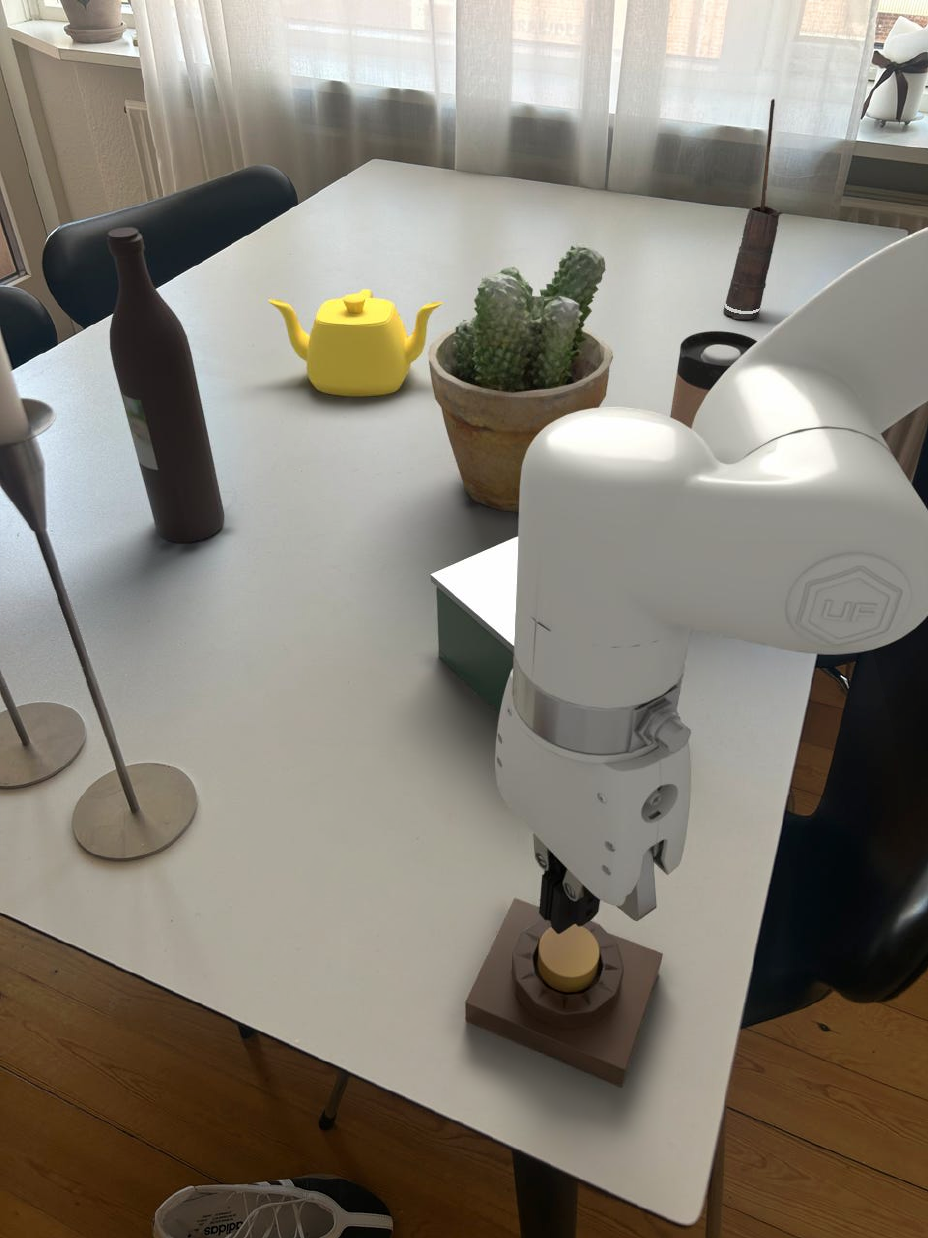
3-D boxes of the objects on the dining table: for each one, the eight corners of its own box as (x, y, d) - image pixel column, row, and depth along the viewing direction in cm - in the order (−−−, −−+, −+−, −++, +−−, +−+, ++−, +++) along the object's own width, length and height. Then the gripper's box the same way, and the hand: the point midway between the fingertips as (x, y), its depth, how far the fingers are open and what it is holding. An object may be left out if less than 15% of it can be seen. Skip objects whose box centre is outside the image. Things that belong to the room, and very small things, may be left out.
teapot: (449, 349, 133) (447, 270, 127) (440, 401, 122) (437, 318, 115) (292, 346, 135) (282, 268, 128) (267, 397, 123) (255, 315, 116)
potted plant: (538, 553, 97) (550, 311, 81) (396, 494, 105) (381, 265, 89) (629, 475, 108) (655, 248, 92) (494, 427, 116) (496, 213, 100)
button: (605, 951, 59) (607, 935, 58) (586, 1002, 56) (588, 987, 55) (549, 930, 60) (551, 914, 59) (528, 979, 58) (529, 963, 56)
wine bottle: (175, 503, 104) (105, 216, 85) (236, 510, 103) (180, 221, 84) (144, 540, 99) (63, 243, 80) (208, 548, 98) (142, 248, 78)
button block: (659, 972, 62) (666, 937, 59) (622, 1088, 56) (628, 1055, 54) (513, 916, 65) (515, 881, 62) (465, 1021, 59) (464, 987, 57)
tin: (438, 656, 85) (435, 586, 80) (540, 606, 90) (544, 538, 85) (535, 749, 76) (539, 677, 71) (642, 688, 82) (653, 617, 77)
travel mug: (744, 532, 99) (784, 347, 86) (699, 563, 95) (734, 374, 82) (683, 502, 103) (712, 322, 90) (638, 531, 99) (662, 347, 86)
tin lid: (430, 581, 80) (430, 574, 80) (538, 534, 86) (538, 526, 85) (539, 677, 71) (540, 669, 71) (653, 617, 77) (654, 609, 76)
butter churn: (794, 322, 139) (841, 107, 121) (738, 332, 137) (777, 114, 119) (757, 299, 146) (796, 92, 128) (703, 308, 143) (735, 99, 125)
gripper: (781, 743, 41) (711, 974, 52) (553, 569, 50) (537, 799, 62) (651, 827, 37) (608, 1054, 49) (433, 624, 47) (441, 856, 58)
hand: (569, 911), depth 55 cm, fingers closed
